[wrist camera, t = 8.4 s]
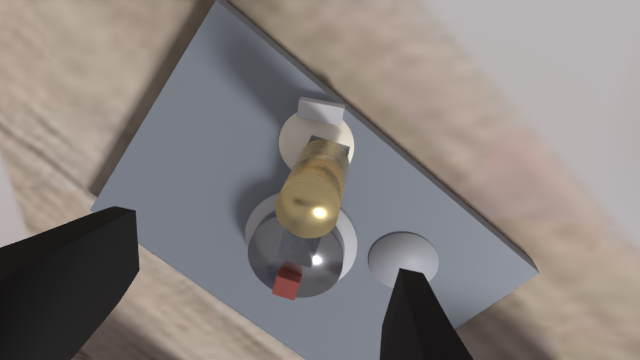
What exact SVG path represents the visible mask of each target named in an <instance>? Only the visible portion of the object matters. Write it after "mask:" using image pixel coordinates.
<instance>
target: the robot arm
mask: <svg viewBox="0 0 640 360" xmlns="http://www.w3.org/2000/svg"><path fill="white" fill-rule="evenodd" d="M138 272H139V254H138V237H137V221H136V210H131V209H127V208H122V207H117V206H113V207H109V208H106V209H103V210H100V211H98V212H95V213H92V214H89V215H87V216H84V217H81V218H79V219H76V220H74V221H71V222H69V223H66V224H63V225H61V226H58V227H56V228H53V229H50V230H48V231H45V232H43V233H40V234H37V235H35V236H32V237H29V238H27V239H24V240H21V241H18V242H15V243H12V244H10V245H7V246H4V247H1V248H0V360H71V359H72V358H73V356H74V355H75V354H76V353H77V352H78V351H79V349H80V348H81V347H82V346H83V345H84V343H85V342H86V341H87V340H88V339H89V338H90V336H91V335H92V334H93V333H94V332H95V330H96V329H97V328H98V327H99V326H100V325H101V323H102V322H103V321H104V320H105V319H106V317H107V316H108V315H109V314H110V313H111V311H112V310H113V309H114V308H115V306H116V305H117V304H118V303H119V301H120V300H121V298H122V297H123V295H124V294H125V292H126V291H127V289H128V288H129V286H130V285H131V283H132V281H133V280H134V278H135V277H136V275H137V273H138ZM380 360H473V358H472V357H471V355H470V354H469V352H468V350H467V349H466V347H465V346H464V344H463V342H462V341H461V339H460V338H459V336H458V334H457V333H456V331H455V329H454V328H453V326H452V324H451V323H450V321H449V319H448V317H447V316H446V314H445V312H444V310H443V308H442V307H441V305H440V303H439V301H438V299H437V297H436V296H435V294H434V292H433V290H432V288H431V286H430V284H429V282H428V280H427V279H426V277H425V275H424V274H423V273H421V272H416V271H412V270H407V269H402V268H399V271H398V275H397V278H396V281H395V285H394V288H393V291H392V294H391V298H390V301H389V304H388V308H387V311H386V314H385V317H384V321H383V324H382V333H381V345H380Z"/></svg>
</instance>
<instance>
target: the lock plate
mask: <svg viewBox="0 0 640 360" xmlns="http://www.w3.org/2000/svg"><path fill="white" fill-rule="evenodd" d="M312 135H314V136H317V137H320V138H324V139H327V140H331V141H333V142H336V143H340V144H343V145H346V146H349V147H350V150H349V154H348V159H349V169H348V174H347V178H346V183H345V188H344V192H343V197H342V202H341V207H340V211H339V216H338V220H337V223H336V225H335V226H336V227H337V229H338V230H339V231H340V233H341V235H342V238H343V241H344V245H345V255H344V261H343V268H342V272H341V275H340V277H339V279H338V281H337V282H336V283H335V285H334V286H333V287H332V288H330V289H329V290H328V291H326V292H324V293H322V294H320V295H317V296H313V297H306V298H297V297H295V300H294V301H293V300H290V299H287V298H284V297H280V296H277V295H274V294H272V291H273V290H272V289H270V288H269V287H267V286H266V285H265V284H263V283H262V282H261V281H260V280H259V279H258V277H257V276H256V275H255V273H254V272H253V270H252V268H251V266H250V263H249V260H248V245H249V242H250V240H251V238H252V236H253V234H254V232H255V230H256V228H257V226H258V225H259V223H260V222H261V220H262V219H263V218H264V217H265V216H267V215H268V214H269V213H271V212H273V211H275V204H276V200H277V197H278V195H279V193H280V191H281V190H282V188H283V186H284V184H285V182H286V180H287V178H288V176H289V174H290V172H291V170H292V168H293V166H294V165H295V163H296V161H297V159H298V157H299V155H300V153H301V151H302V149H303V148H304V147H305V146H306V145H307V144H308V142H309V140H310V138H311V136H312ZM113 206H117V207H122V208H127V209H131V210H136V221H137V237H138V244H140V245H141V246H143V247H144V248H146V249H147V250H149V251H150V252H151V253H153V254H154V255H156V256H157V257H159V258H160V259H162V260H163V261H164V262H166V263H167V264H169V265H170V266H172V267H173V268H175V269H176V270H177V271H179V272H180V273H182V274H183V275H185V276H186V277H187V278H189V279H190V280H192V281H193V282H195V283H196V284H198V285H199V286H200V287H202V288H203V289H205V290H206V291H208V292H209V293H211V294H212V295H213V296H215V297H216V298H218V299H219V300H221V301H222V302H224V303H225V304H226V305H228V306H229V307H231V308H232V309H234V310H235V311H236V312H238V313H239V314H241V315H242V316H244V317H245V318H247V319H248V320H249V321H251V322H252V323H254V324H255V325H257V326H258V327H260V328H261V329H262V330H264V331H265V332H267V333H268V334H270V335H271V336H273V337H274V338H275V339H277V340H278V341H280V342H281V343H283V344H284V345H285V346H287V347H288V348H290V349H291V350H293V351H294V352H296V353H297V354H298V355H300V356H301V357H303V358H304V359H306V360H380V345H381V333H382V324H383V321H384V317H385V314H386V311H387V308H388V304H389V301H390V298H391V294H392V291H393V288H394V285H395V281H396V278H397V275H398V271H399V268H402V269H407V270H412V271H416V272H421V273H423V274H424V275H425V277H426V279H427V280H428V282H429V284H430V286H431V288H432V290H433V292H434V294H435V296H436V297H437V299H438V301H439V303H440V305H441V307H442V308H443V310H444V312H445V314H446V316H447V317H448V319H449V321H450V323H451V324H452V326H453V328H454V329H456V328H458V327H459V326H461V325H462V324H464V323H465V322H467V321H468V320H470V319H471V318H473V317H474V316H476V315H477V314H479V313H480V312H482V311H483V310H485V309H486V308H488V307H489V306H491V305H492V304H494V303H495V302H497V301H498V300H500V299H501V298H503V297H504V296H506V295H507V294H509V293H510V292H512V291H513V290H515V289H516V288H518V287H519V286H521V285H522V284H524V283H525V282H527V281H528V280H530V279H531V278H533V277H534V276H536V275H537V274H539V271H538V269H537V267H536V265H535V263H534V262H533V260H531V259H530V258H529V257H528V256H527V255H526V254H524V253H523V252H522V251H521V250H520V249H519V248H517V247H516V246H515V245H514V244H513V243H511V242H510V241H509V240H508V239H507V238H506V237H504V236H503V235H502V234H501V233H500V232H498V231H497V230H496V229H495V228H494V227H493V226H491V225H490V224H489V223H488V222H487V221H485V220H484V219H483V218H482V217H481V216H480V215H478V214H477V213H476V212H475V211H474V210H473V209H471V208H470V207H469V206H468V205H467V204H465V203H464V202H463V201H462V200H461V199H460V198H458V197H457V196H456V195H455V194H454V193H452V192H451V191H450V190H449V189H448V188H447V187H445V186H444V185H443V184H442V183H441V182H439V181H438V180H437V179H436V178H435V177H434V176H432V175H431V174H430V173H429V172H428V171H426V170H425V169H424V168H423V167H422V166H421V165H419V164H418V163H417V162H416V161H415V160H414V159H412V158H411V157H410V156H409V155H408V154H406V153H405V152H404V151H403V150H402V149H401V148H399V147H398V146H397V145H396V144H395V143H393V142H392V141H391V140H390V139H389V138H388V137H386V136H385V135H384V134H383V133H382V132H380V131H379V130H378V129H377V128H376V127H375V126H373V125H372V124H371V123H370V122H369V121H367V120H366V119H365V118H364V117H363V116H362V115H360V114H359V113H358V112H357V111H356V110H355V109H353V108H352V107H351V106H350V105H349V104H347V103H346V102H345V101H344V100H343V99H342V98H340V97H339V96H338V95H337V94H336V93H334V92H333V91H332V90H331V89H330V88H329V87H327V86H326V85H325V84H324V83H323V82H321V81H320V80H319V79H318V78H317V77H316V76H314V75H313V74H312V73H311V72H310V71H309V70H307V69H306V68H305V67H304V66H303V65H301V64H300V63H299V62H298V61H297V60H296V59H294V58H293V57H292V56H291V55H290V54H288V53H287V52H286V51H285V50H284V49H283V48H281V47H280V46H279V45H278V44H277V43H275V42H274V41H273V40H272V39H271V38H270V37H268V36H267V35H266V34H265V33H264V32H262V31H261V30H260V29H259V28H258V27H257V26H255V25H254V24H253V23H252V22H251V21H250V20H248V19H247V18H246V17H245V16H244V15H242V14H241V13H240V12H239V11H238V10H237V9H235V8H234V7H233V6H232V5H231V4H229V3H228V2H227V1H226V0H215V2H214V4H213V5H212V7H211V9H210V11H209V12H208V14H207V16H206V17H205V19H204V21H203V22H202V24H201V26H200V27H199V29H198V31H197V32H196V34H195V36H194V37H193V39H192V41H191V42H190V44H189V46H188V47H187V49H186V51H185V52H184V54H183V56H182V57H181V59H180V61H179V62H178V64H177V66H176V67H175V69H174V71H173V72H172V74H171V76H170V77H169V79H168V81H167V82H166V84H165V86H164V87H163V89H162V91H161V92H160V94H159V96H158V97H157V99H156V101H155V102H154V104H153V106H152V107H151V109H150V111H149V112H148V114H147V116H146V117H145V119H144V121H143V122H142V124H141V126H140V127H139V129H138V131H137V132H136V134H135V136H134V137H133V139H132V141H131V143H130V144H129V146H128V148H127V149H126V151H125V153H124V154H123V156H122V158H121V159H120V161H119V163H118V164H117V166H116V168H115V169H114V171H113V173H112V174H111V176H110V178H109V179H108V181H107V183H106V184H105V186H104V188H103V189H102V191H101V193H100V194H99V196H98V198H97V199H96V201H95V203H94V204H93V206H92V208H91V209H90V210H91V211H92V212H94V213H95V212H98V211H100V210H103V209H106V208H109V207H113Z"/></svg>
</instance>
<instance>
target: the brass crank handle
mask: <svg viewBox="0 0 640 360" xmlns="http://www.w3.org/2000/svg"><path fill="white" fill-rule="evenodd" d="M349 150H350V147H349V146H346V145H343V144H340V143H336V142H333V141H331V140H327V139H324V138H320V137H317V136H314V135H312V136H311V138H310V140H309V142H308V144H307V145H306V146H305V147H304V148H303V149H302V151H301V153H300V155H299V157H298V159H297V161H296V163H295V165H294V166H293V168H292V170H291V172H290V174H289V176H288V178H287V180H286V182H285V184H284V186H283V188H282V190H281V191H280V193H279V195H278V197H277V200H276V204H275V211H273V212H271V213H269V214H268V215H267V216H265V217H264V218H263V219H262V220H261V222H260V223H259V225H258V226H257V228H256V230H255V232H254V234H253V236H252V238H251V240H250V242H249V245H248V260H249V263H250V266H251V268H252V270H253V272H254V273H255V275H256V276H257V277H258V279H259V280H260V281H261V282H262V283H263V284H265V285H266V286H267V287H269V288H270V289H272V290H273V291H272V294H274V295H277V296H280V297H284V298H287V299H290V300H293V301H294V300H295V297H297V298H306V297H313V296H317V295H320V294H322V293H324V292H326V291H328V290H329V289H330V288H332V287H333V286H334V285H335V283H336V282H337V281H338V279H339V277H340V275H341V272H342V268H343V261H344V255H345V245H344V241H343V238H342V235H341V233H340V231H339V230H338V229H337V227H336V226H335V225H336V223H337V220H338V216H339V211H340V207H341V202H342V197H343V192H344V188H345V183H346V178H347V174H348V169H349V159H348V154H349Z"/></svg>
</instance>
